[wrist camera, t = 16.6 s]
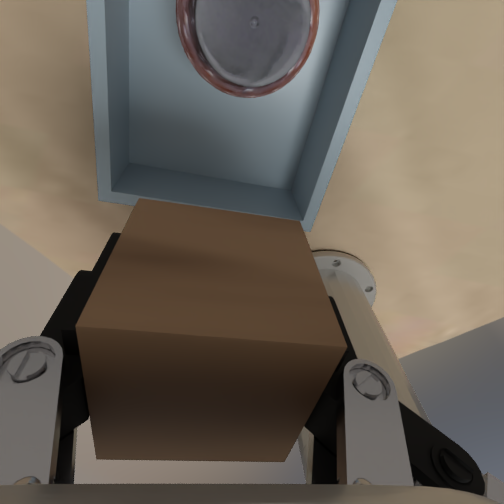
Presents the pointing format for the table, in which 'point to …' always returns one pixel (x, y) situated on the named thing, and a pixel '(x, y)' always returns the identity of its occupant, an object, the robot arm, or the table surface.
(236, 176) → the tote
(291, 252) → the walnut cube
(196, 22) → the supplement bottle
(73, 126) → the table surface
